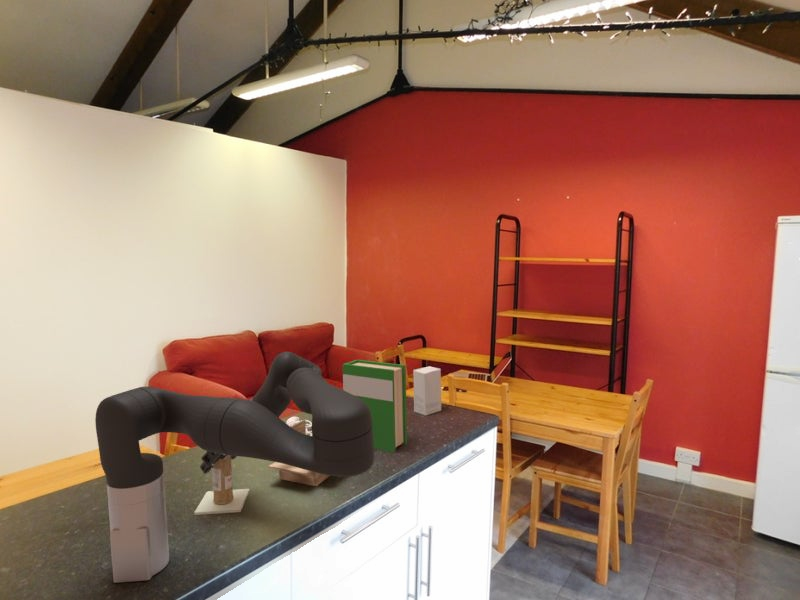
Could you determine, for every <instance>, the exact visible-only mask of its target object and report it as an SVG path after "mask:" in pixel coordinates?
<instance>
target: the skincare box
mask: <svg viewBox="0 0 800 600" xmlns="http://www.w3.org/2000/svg"><path fill="white" fill-rule="evenodd" d="M441 371H442V369H441V368H439V367H433V366H430V365H429V366H426V367H420V368H416V369H413V372H412V375H413V412H414V413H417V414H419V415H423V416H429V415H431V414H435V413H438V412H441V411H442V381H441V380H442V379H441V378H442V376H441V375H442V374H441Z"/></svg>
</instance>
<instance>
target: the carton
mask: <svg viewBox="0 0 800 600" xmlns="http://www.w3.org/2000/svg"><path fill="white" fill-rule="evenodd" d="M305 420H306V419H302V421H301V420H299V421H300V422H298V423H296V424H294V425H292V426H290V427H291V428H293V429H294V430H296V431H298V432H300V433H303V434H305V435H306V426H307V425H306V424H307V423H306V421H305ZM268 468H269V469H273V470H274V469H275V470H278V474H279V479H280V480H283V481H289V482H293V483H299V484H303V485H308V486H312V487H318V486H319V485H320V484H322V482H324V481H326V480H327V479H328V478H329V477H331V476H330V475H324V474H320V473H316V472H312V471H308V470H305V469H301V468H297V467H294V466H290V465H287V464H283V463H278V462H272V463H271V464H269V465H268Z"/></svg>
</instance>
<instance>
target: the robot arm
mask: <svg viewBox="0 0 800 600" xmlns="http://www.w3.org/2000/svg"><path fill="white" fill-rule="evenodd" d="M291 402H293V404H295V406H296V407H297V408H298V410H300V411H301V412H303V413H305V414H308V415H311V417H312V418H311V423H312V427H311V431H312V432H311V433H312V436H311V435H310V434H308V435H305V434H303V433H300V432H298V431H296V430H294V429H293V428H291V427H290V426H289V425H287V424H286V422H285V421H284V420H283V419H281V418H280V416H281V415H282V414H283V413H284V411H286V410H287V408H288V407H290V404H291ZM94 418H95V431H96V438H97V445H98V451H99V460H100V466H101V467H102V470H103V473H104V475H105V479H106V490H107V491H106V492H107V503H108V505H107V506H108V507H107V508H108V516H109V519H108V520H109V529H110V530H109V531H110V532H109V538H110V539H109V540H110V551H111V565H112V577H113V583H115V584H117V583H127V582H131V583H132V582H141V581H150V580H151V579H152V577H153V576H154V575H156V574H158V573H159V572H161V571H163V570H164V569H165V567H167V566H168V565H169V562H170V552H169V551H170V550H169V549H170V548H169V537H168V523H167V522H168V521H167V508H166V507H167V504H166V492H165V474H164V473H165V472H164V461H163V459H162V457H161V456H160V455H158V454H156V453H150V452H149V453H148V452H141V447H140V441H142V440H144V439H146V438H148V437H151V436H153V435H156V434H162V433H175V434H183V435H187V436H188V437H189V438H190V439H191V440H192V442H193V443H194V444H195V445H196V446H197V447H198V448H200V449H202V450H203V451H206V452H205V453H204V455H202V456H201V460H202V463H201V464H200V466H199V468H200V470H201V471H202V473H203V474H204V475H206V474H208V473H210V471H212V468H213V466H214V465H216V463H218V462H219V461H220V460H221V459H223V460H224V459H226V458H227V457H228V456H230V455H231V460H235V459H236V458H237V457H240V458H241V457H242V458H243V457H244V458H251V459H257V460H263V461H267V462H272V463H274V462H278V463H283V464H287V465H290V466H294V467H297V468H301V469H305V470H308V471H312V472H316V473H320V474H324V475H330V476H329V477H331V476H332V477H340V478H341V477H342V478H343V477H344V478H349V477H355V476H356V477H357V476H359V475H362V474H364V473H366V472H368V471H369V470H370V469H371V468H372V467H373V465H374V463H375V448H374V439H373V425H372V416H371V412H370V409H369V407H368V406H367V404H366V403H365V402H364V401H362V400H361V399H360V398H358V397H356V396H354V395H352V394H350V393H348V392H346V391H344V390H343V389H341V388H340V387H337V386H335V385H332V384H330V383H329V382H328V381H327V380H326V379H325V378H324V377H323V375H322V369H321V367H320V366H318V365H317V364H315V363H314V362H312V361H310V360H307V358H306V359H305V358H303V357H301V356H300V355H297V354H295V353H293V352H290V351H283V352H281V353H278V354H277V355H276V356H275V357H274V359H273V361H272V363H271V365H270V367H269V371H268V374H267V376H266V378H265V380H264V382H263V384H262V385H261V387H260V388H259V390H258V391H257V392H256V393H255V394H254V396H253V397H252V398H251V399H245V398H236V397H235V398H234V397H221V396H212V395H211V396H210V395H209V396H207V395H194V394H190V395H189V394H185V393H180V392H176V391H171V390H167V389H164V388H159V387H153V386H139V387H136V388H132V389H128V390H126V391H122V392H119V393H116V394H113V395H110V396H108V397H105V398H103V399H102V400H101V401H100V402H99V404H98V406H97V407H96V412H95V417H94ZM224 454H225V455H224ZM218 457H219V458H218Z"/></svg>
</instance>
